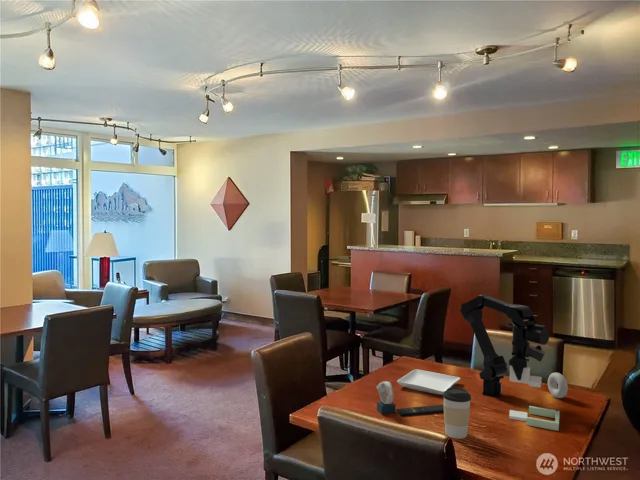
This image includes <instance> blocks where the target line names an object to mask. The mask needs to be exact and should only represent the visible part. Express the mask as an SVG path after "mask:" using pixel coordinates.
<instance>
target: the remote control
mask: <svg viewBox="0 0 640 480" xmlns="http://www.w3.org/2000/svg"><path fill="white" fill-rule="evenodd" d="M395 413H397V414H399V416H400V417H409V416H420V415H421V416H422V415H432V414H440V413H441V414H442V413H443V414H444V406H443V404H435V405H425V406H424V405H423V406H413V407H404V408H403V407H400V408H396V410H395Z"/></svg>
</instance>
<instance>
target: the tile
mask: <svg viewBox="0 0 640 480" xmlns="http://www.w3.org/2000/svg"><path fill="white" fill-rule="evenodd" d="M527 417H528V412H525V411H520V410H519V411H518V410H513V409H509V417H508V419H509V420H514V421H521V422H527Z"/></svg>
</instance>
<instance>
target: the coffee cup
mask: <svg viewBox="0 0 640 480" xmlns="http://www.w3.org/2000/svg"><path fill="white" fill-rule="evenodd" d="M442 398H443V404H442V405H443V406H444V412H443V419H444V428H445V429H444V431H445V435H446V436H447V435H448V436H447V437H449V438H452V439H458V440H461V439H465V438H467V436H468V429H469V423H470V412H471V400H472V395H471V393H469V391H468V390H467V389H466V388H461V387H454V386H452V387H451V388H448V389H447V390H446V391H444V392H443V394H442Z"/></svg>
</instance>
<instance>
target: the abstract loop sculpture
mask: <svg viewBox="0 0 640 480" xmlns="http://www.w3.org/2000/svg"><path fill="white" fill-rule="evenodd" d="M392 385H393V384H392V383H391V382H390V381H386V380H384V381H381V382H380V383H378V384H377V386H376V389H377V391H378V394H379V397H380V401H376V411H377V412H378V413H379V414H380V415H391V414H395V413H396V409H397V408H396V406H397V405H396V404H395V403H394V402H393V400H394V388H393V386H392Z"/></svg>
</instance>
